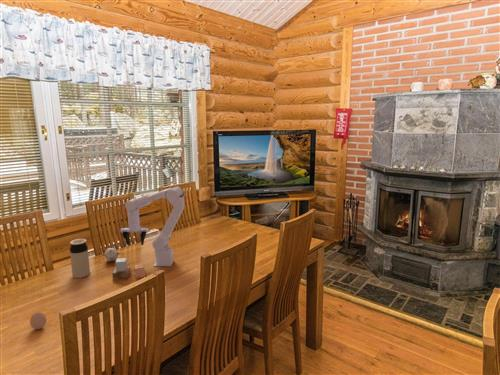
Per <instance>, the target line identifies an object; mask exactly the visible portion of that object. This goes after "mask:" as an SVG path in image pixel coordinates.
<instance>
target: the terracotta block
mask: <svg viewBox="0 0 500 375" xmlns="http://www.w3.org/2000/svg"><path fill="white" fill-rule="evenodd" d="M134 275H135V279H136V278H144V277H146V268H145V263H140V264H135V265H134Z"/></svg>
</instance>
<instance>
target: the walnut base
mask: <svg viewBox="0 0 500 375" xmlns="http://www.w3.org/2000/svg"><path fill="white" fill-rule="evenodd" d="M111 274H112V280H113V281H116V280H117V281H119V280H128V279H129V277H130V274H131V266H130V265H127V269H126V271H119V272H116V266H115V267H114V270H113V271H112V273H111Z"/></svg>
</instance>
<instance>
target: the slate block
mask: <svg viewBox="0 0 500 375" xmlns="http://www.w3.org/2000/svg"><path fill="white" fill-rule="evenodd" d="M127 266H128V263H127V257H121V258H117V259H116V260H115V267H116V272H119V271H126V269H127Z"/></svg>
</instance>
